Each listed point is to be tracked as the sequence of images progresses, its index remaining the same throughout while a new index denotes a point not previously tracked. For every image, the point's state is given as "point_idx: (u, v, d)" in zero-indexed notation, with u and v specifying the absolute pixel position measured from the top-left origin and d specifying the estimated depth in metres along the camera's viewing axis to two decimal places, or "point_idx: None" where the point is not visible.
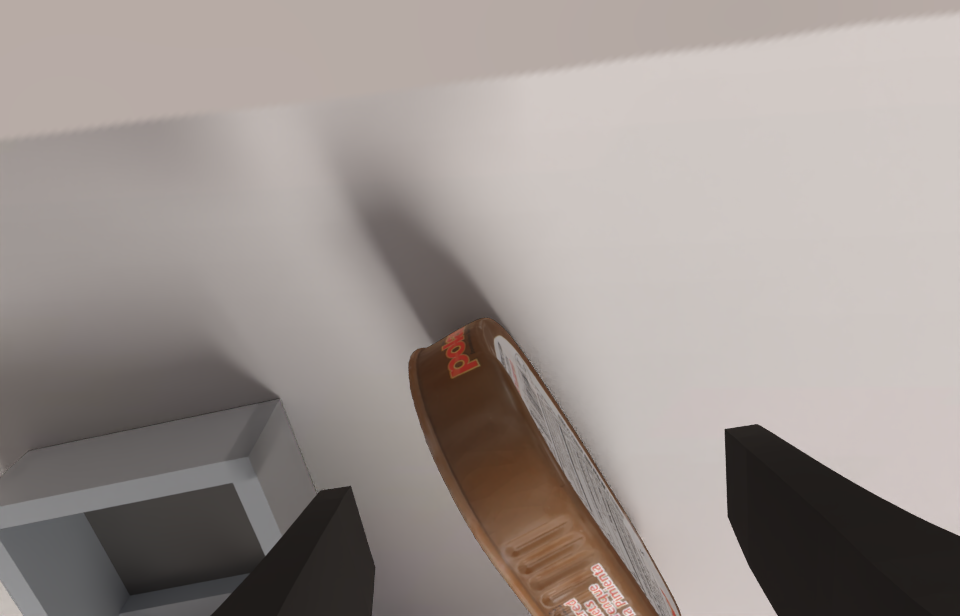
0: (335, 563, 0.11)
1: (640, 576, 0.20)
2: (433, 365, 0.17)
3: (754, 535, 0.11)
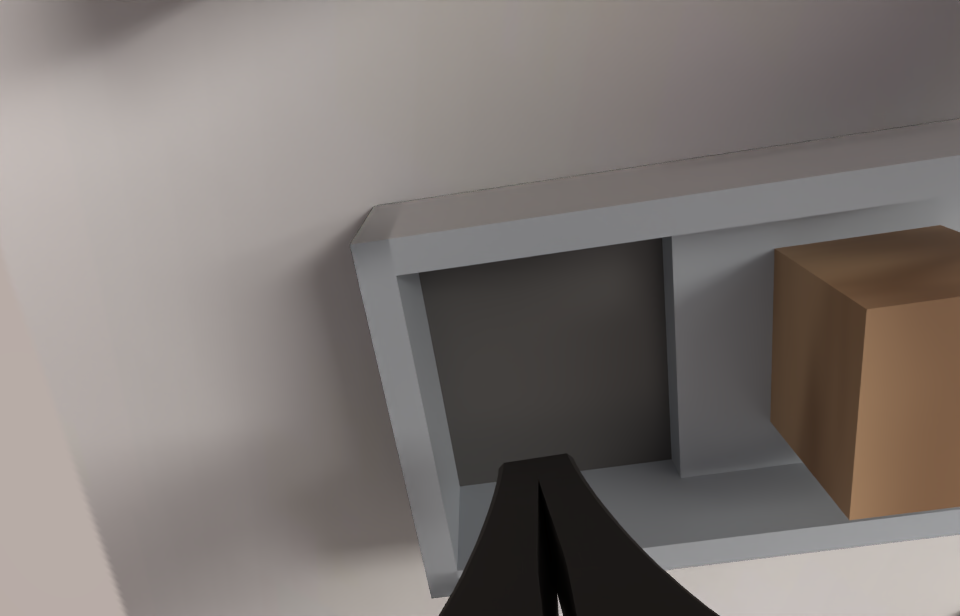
0: (543, 533, 0.11)
1: None
2: None
3: (553, 564, 0.11)
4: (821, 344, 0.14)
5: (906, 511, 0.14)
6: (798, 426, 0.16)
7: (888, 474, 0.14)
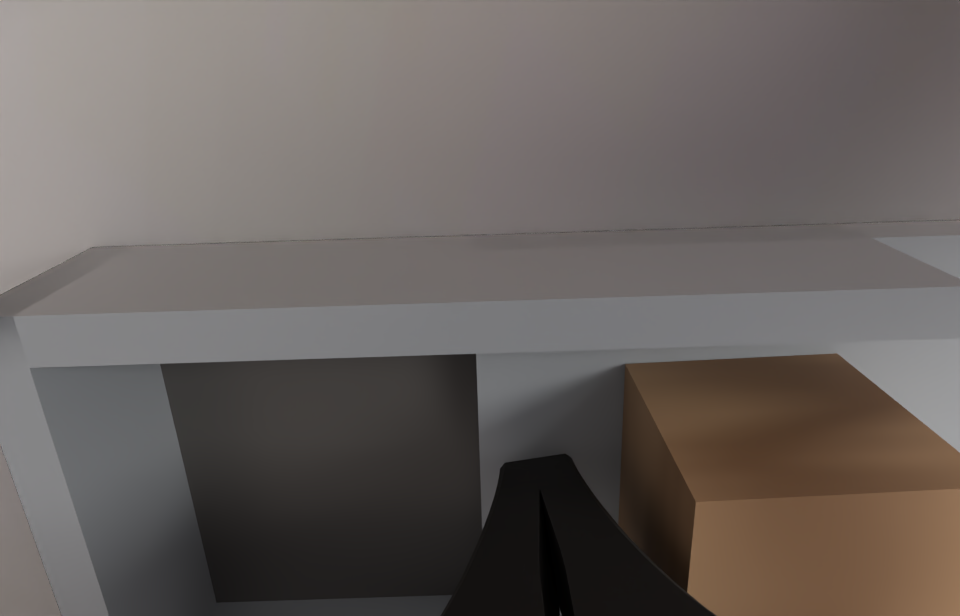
0: (545, 532, 0.11)
1: None
2: None
3: (552, 564, 0.11)
4: (657, 513, 0.10)
5: None
6: None
7: None
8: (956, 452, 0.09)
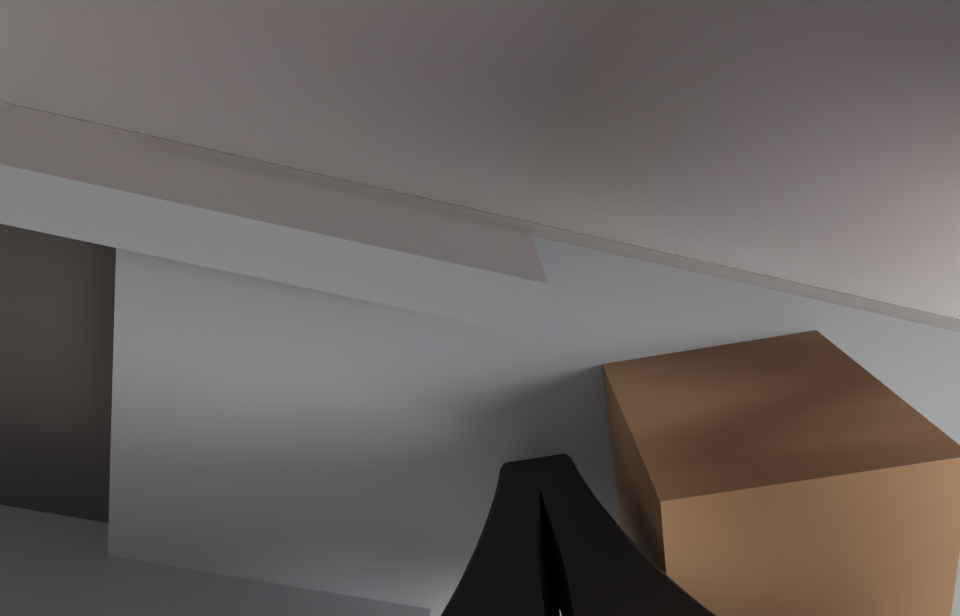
0: (545, 532, 0.11)
1: None
2: None
3: None
4: (639, 512, 0.10)
5: None
6: None
7: None
8: (928, 423, 0.09)
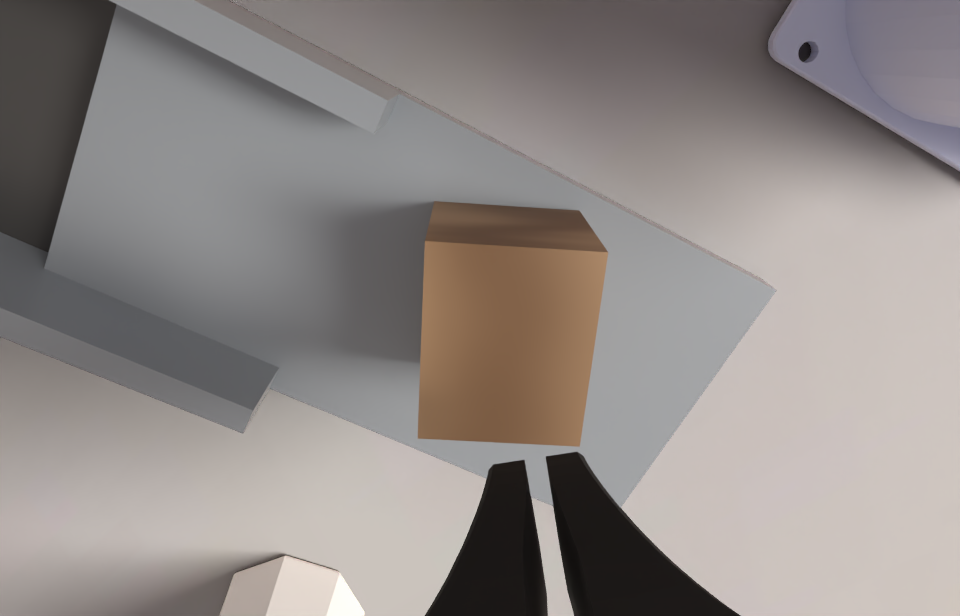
0: (531, 534, 0.11)
1: None
2: None
3: (564, 562, 0.11)
4: None
5: (467, 439, 0.16)
6: None
7: (449, 400, 0.15)
8: (599, 242, 0.15)
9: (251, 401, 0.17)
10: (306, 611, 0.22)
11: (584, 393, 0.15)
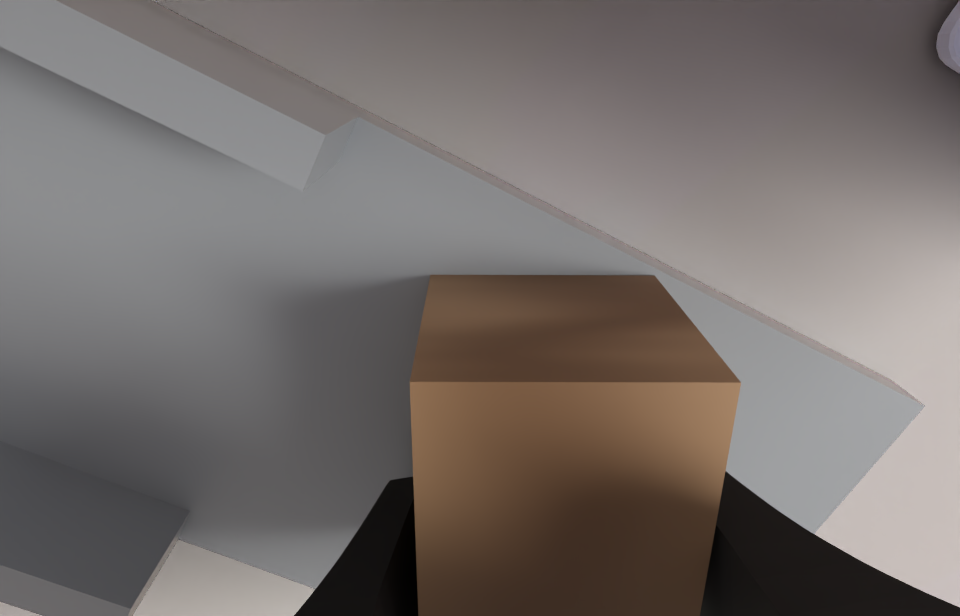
0: (414, 551, 0.11)
1: None
2: None
3: None
4: None
5: None
6: None
7: None
8: (714, 354, 0.08)
9: (131, 588, 0.11)
10: None
11: (697, 603, 0.09)
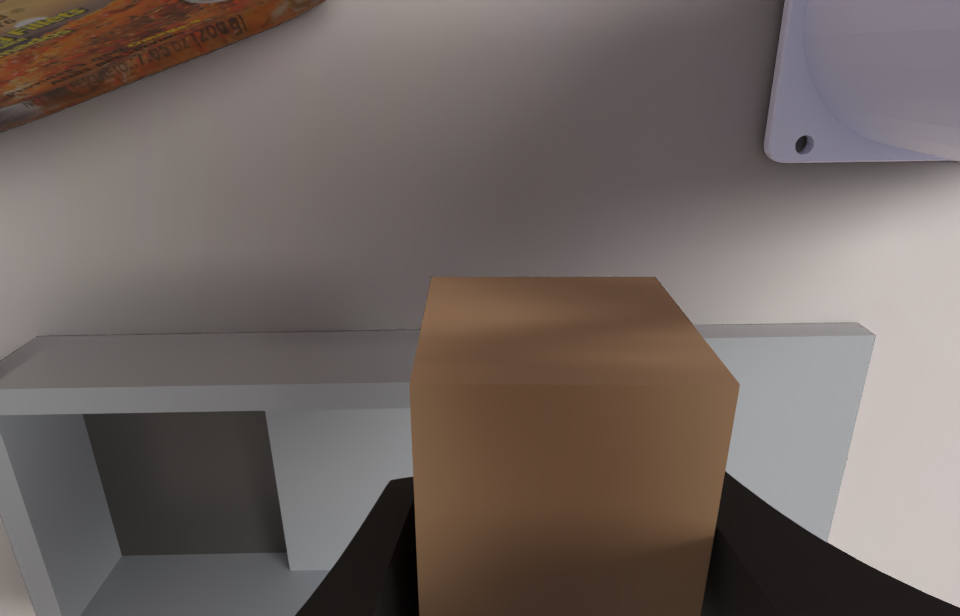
0: (415, 551, 0.11)
1: None
2: None
3: None
4: None
5: None
6: None
7: None
8: (714, 356, 0.08)
9: None
10: None
11: (697, 605, 0.09)
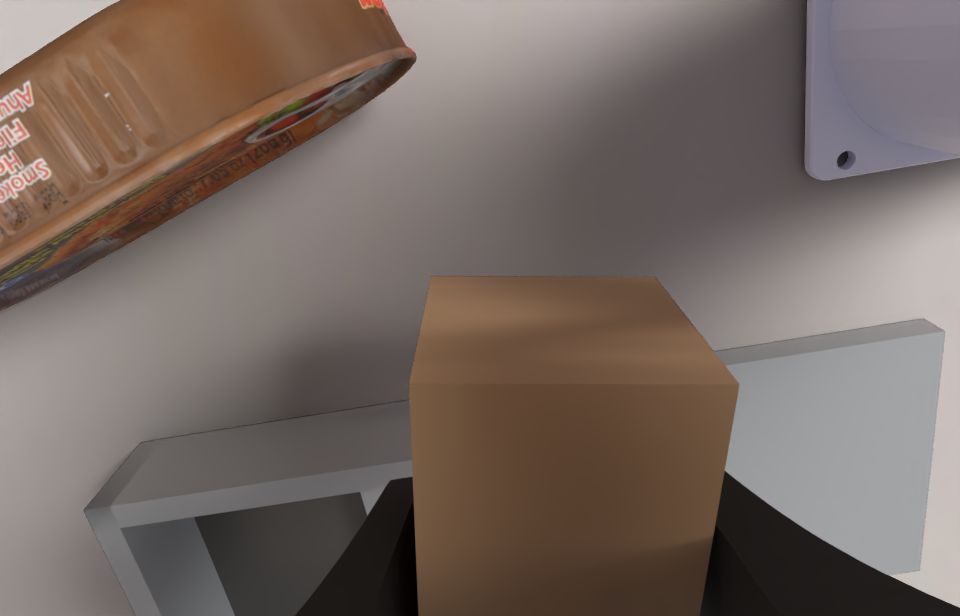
0: (415, 551, 0.11)
1: None
2: None
3: None
4: None
5: None
6: None
7: None
8: (713, 355, 0.08)
9: None
10: None
11: (696, 605, 0.09)
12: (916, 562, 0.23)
